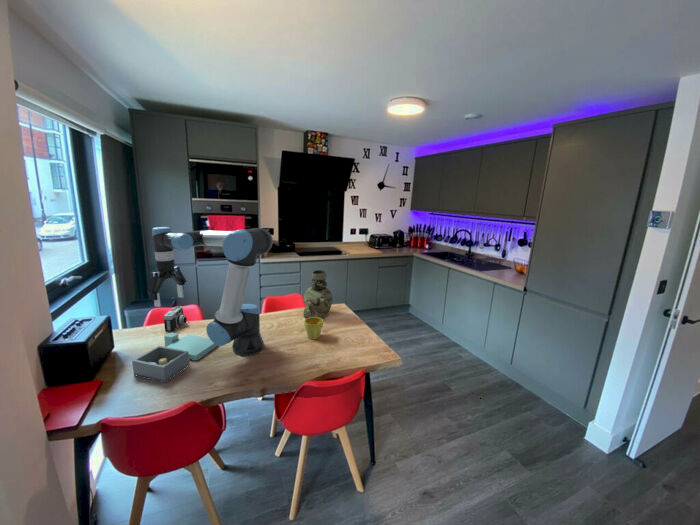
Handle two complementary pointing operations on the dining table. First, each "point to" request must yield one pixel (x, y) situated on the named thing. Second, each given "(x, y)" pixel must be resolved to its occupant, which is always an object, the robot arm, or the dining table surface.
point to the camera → (174, 318)
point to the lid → (190, 344)
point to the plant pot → (313, 327)
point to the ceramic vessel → (317, 297)
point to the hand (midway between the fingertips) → (169, 301)
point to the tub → (160, 363)
